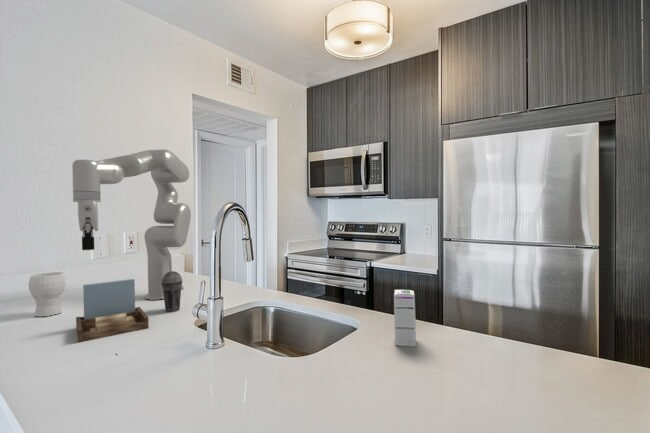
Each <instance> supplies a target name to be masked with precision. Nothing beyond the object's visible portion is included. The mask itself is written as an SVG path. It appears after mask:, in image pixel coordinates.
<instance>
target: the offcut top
mask: <svg viewBox="0 0 650 433" xmlns="http://www.w3.org/2000/svg"><path fill="white" fill-rule="evenodd" d="M123 321H127V315H126V313H122V314H115V315H109V316H103V317H96V326H99V325H105V324H111V323H117V322H123Z"/></svg>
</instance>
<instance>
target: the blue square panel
mask: <svg viewBox="0 0 650 433" xmlns="http://www.w3.org/2000/svg"><path fill="white" fill-rule="evenodd" d="M135 284H136V283H135V279H134V278H129V279H121V280H120V279H119V280H112V281H104V282H95V283H87V284H83V285H82V287H83V289H82V290H83V294H82V295H83V317H84V320H85V319H91V318H96V317H103V316H108V315H114V314H120V313H126V312H132V311H135V308H136V295H135V293H136V292H135V291H136V288H135V286H136V285H135Z"/></svg>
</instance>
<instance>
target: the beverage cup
mask: <svg viewBox="0 0 650 433" xmlns="http://www.w3.org/2000/svg"><path fill="white" fill-rule="evenodd" d="M169 265H170V272H168V273H166V274H165V275H164V277H163V279H162V283H161V284H162V288H163V293H164V299H163V300H164V307H165V308H164V309H165V312H166V313H176V312H179V311H180V309H181V296H182V295H181V293H182V290H181V287H182V286H183V278H182V275H181V274H180V273H179V272H177V271H173V269H172V270H171V260H169Z"/></svg>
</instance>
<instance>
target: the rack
mask: <svg viewBox="0 0 650 433" xmlns="http://www.w3.org/2000/svg"><path fill="white" fill-rule="evenodd" d="M120 314H122V313H120ZM114 315H115V314H114ZM126 315H127V317H128V316H132V317H133V318H134V319H135V322H136V323H134V324H129V325H124V326H119V327H113V328H108V329H103V330H98V331H93V332H90V331H89V328H95V323H96V318H91V319H85V320H84V316H77V317H75V322H76V325H75V326H76V328H75V329H76V335H77V343H83V342H88V341H89V342H90V341H92V340H98V339H102V338H108V337H112V336H118V335H123V334H127V333H132V332H137V331H143V330H146V329H147V330H148V329H149V328H150V327H149V316H148V315H147V314H146V312H144V310H143V309H142V308H141V307H140V306H135V311H132V312H126ZM108 316H109V315H108Z"/></svg>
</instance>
